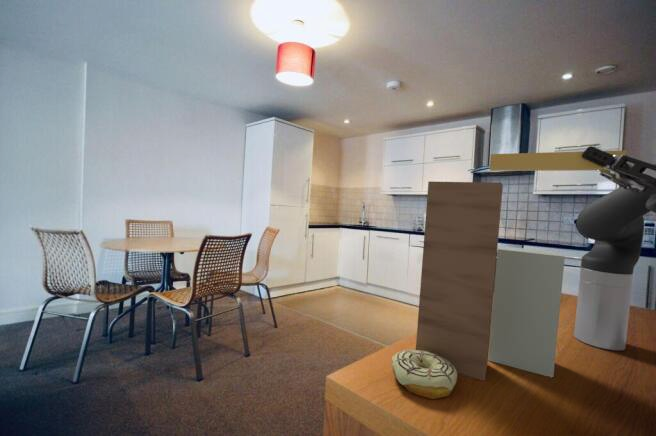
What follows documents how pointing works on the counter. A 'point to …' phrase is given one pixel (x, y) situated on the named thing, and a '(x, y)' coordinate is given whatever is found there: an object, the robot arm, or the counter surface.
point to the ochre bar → (545, 161)
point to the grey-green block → (526, 309)
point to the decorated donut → (424, 373)
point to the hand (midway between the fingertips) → (583, 153)
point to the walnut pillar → (459, 273)
